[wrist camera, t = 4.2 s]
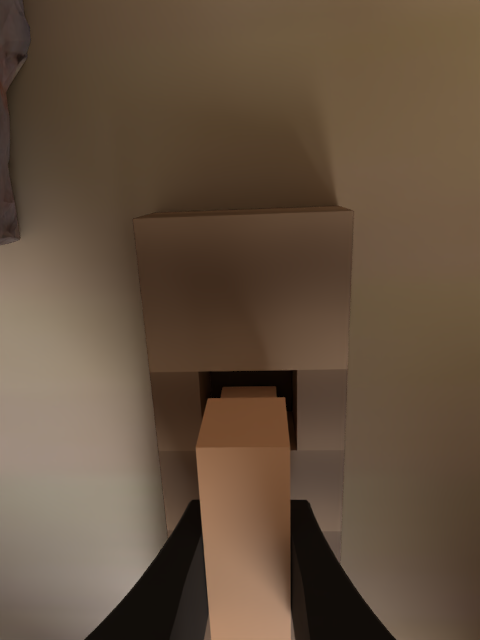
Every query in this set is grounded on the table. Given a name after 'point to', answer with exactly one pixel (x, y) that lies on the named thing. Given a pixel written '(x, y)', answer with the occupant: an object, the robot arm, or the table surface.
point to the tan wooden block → (246, 513)
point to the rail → (250, 336)
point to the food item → (3, 65)
